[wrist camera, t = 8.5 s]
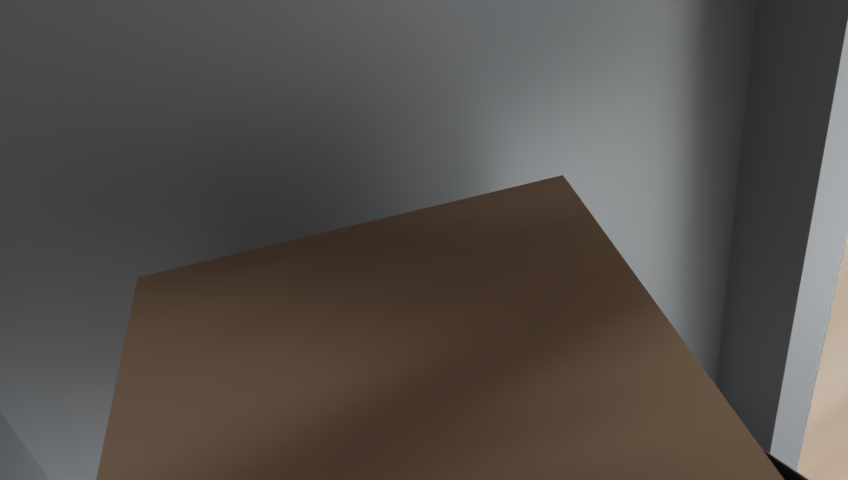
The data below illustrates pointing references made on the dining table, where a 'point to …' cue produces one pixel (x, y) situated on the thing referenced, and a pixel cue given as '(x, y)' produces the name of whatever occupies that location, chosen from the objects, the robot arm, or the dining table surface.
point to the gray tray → (414, 166)
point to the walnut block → (420, 359)
